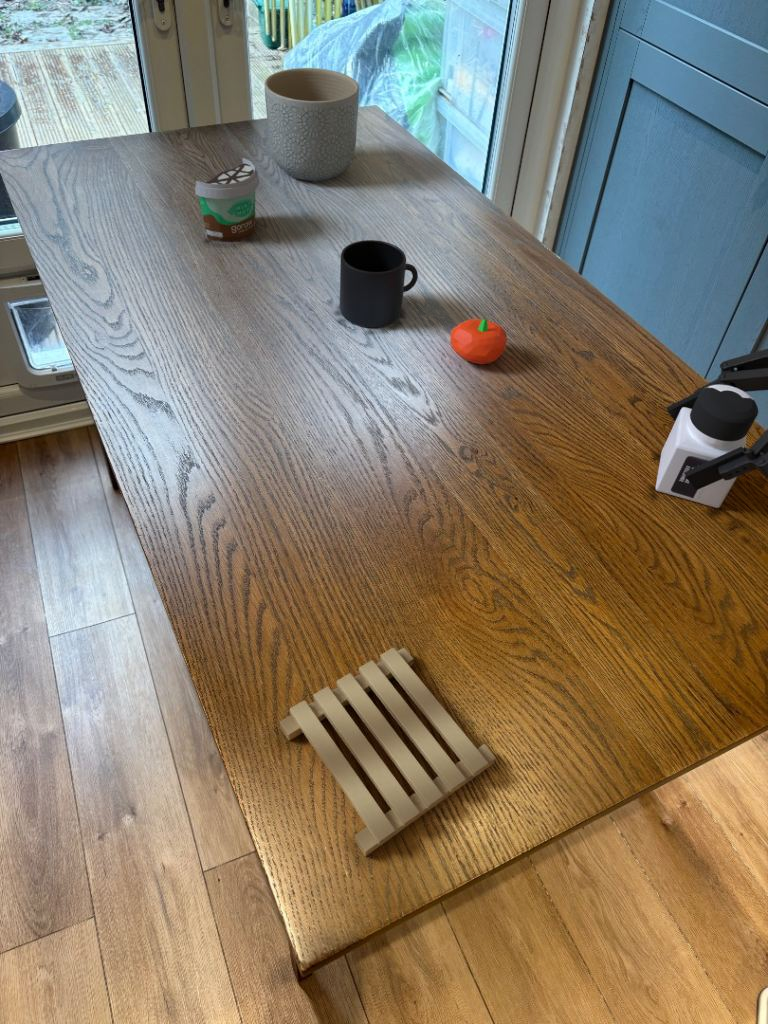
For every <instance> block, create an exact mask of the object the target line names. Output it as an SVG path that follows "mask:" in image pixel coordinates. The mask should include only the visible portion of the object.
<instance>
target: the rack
mask: <svg viewBox="0 0 768 1024" xmlns="http://www.w3.org/2000/svg"><path fill="white" fill-rule="evenodd" d="M379 660H380V661H379V662H377V663H376V662H375V661H374V660H373V659H372V660H370V661H368V662H366V663H365V664H363V665H361V666H359V668H358V673H359V674H357V675H355V676H354V675H353V674H352V673H351V672H349V673H348V674H346V675H344V676H343V677H341V678H339V679H337V680H336V687H335V688H334V689H331V688H330V686H326V687H324V688H322V689H320V690H319V691H317V692H315V693H313V701H312V702H310V703H308V702H307V701H306V700H305V699H304V700H302V701H300V702H298V703H297V704H295V705H294V706H291V707H290V708H289V713H290V714H289V715H288V716H287V717H285V718H283V719H282V720H280V721H279V727H280V730H281V731H282V733H283V734H284V736H285V737H286V739H287V741H291V740H293V739H294V738H297V737H298V736H299V735H301V734H304V736H305V737H306V739H307V740H308V742H309V743H310V745H311V746H312V748H313V750H314V751H315V752H316V754H317V755H318V757H319V758H320V760H321V761H322V762H323V764H324V765H325V767H326V768H327V770H328V772H329V773H330V774H331V775H332V778H333V779H334V780H335V782H336V783H337V785H338V786H339V788H340V789H341V790H342V792H343V794H344V795H345V796H346V798H347V799H348V802H350V804H351V805H352V807H353V808H354V810H355V812H356V813H357V814H358V815H359V817H360V819H361V820H362V822H363V823H364V825H365V826H366V827H364V828H363V829H362V830H360V831H359V832H357V833H356V834H354V842H355V844H356V845H357V847H358V848H359V850H360V852H361V853H362V854H363V856H364V857H367V856H369V855H370V854H371V853H373V852H374V851H375V850H376V849H378V848H379V847H381V846H382V845H384V844H385V843H387V842H388V841H390V839H392V838H394V836H396V835H397V834H399V833H400V832H401V831H403V830H404V829H406V828H407V827H409V826H410V825H411V824H413V823H414V822H415V821H416V820H418V819H420V818H421V817H423V816H424V815H425V814H426V813H428V812H429V811H430V810H432V809H433V808H435V807H436V806H437V805H439V804H441V802H443V801H444V800H446V799H447V798H449V796H452V795H453V794H454V793H456V792H457V791H458V790H460V789H461V788H462V787H463V786H465V785H466V784H468V783H469V782H470V781H471V780H473V779H475V778H476V777H477V776H479V775H480V774H482V773H484V771H485V770H487V769H488V768H490V767H491V766H492V765H494V764H495V761H496V759H497V758H496V756H495V755H494V753H493V752H492V751H491V750H490V748H489V747H488V746H487V745H486V743H484V744H482V745H480V746H479V747H478V748H477V747H476V746H475V744H474V743H473V742H472V741H471V740H470V738H469V737H468V736H467V735H466V733H465V732H464V731H463V730H462V729H461V728H460V726H459V725H458V723H457V722H456V721H455V720H454V719H453V717H452V716H451V715H450V714H449V713H448V711H446V709H445V708H444V707H443V705H442V704H441V703H440V702H439V700H438V699H437V698H436V697H435V695H434V694H433V693H432V692H431V691H430V689H428V687H427V686H426V685H425V684H424V681H422V680H421V679H420V678H419V676H418V675H417V673H415V671H414V670H413V668H411V667H412V666H413V665H414V657H413V656H412V655H411V653H410V652H409V651H408V650H407V648H406V647H402V648H401V649H399V650H397V649H396V648H395V647H392V648H390V649H388V650H386V651H384V652H382V653H381V654H380V655H379ZM392 678H394V679H395V680H396V681H397V683H398V684H399V685H400V686H401V687H402V689H403V690H404V691H405V693H406V694H407V695H408V696H409V697H410V699H411V700H412V701H413V702H414V705H416V706H417V708H418V709H419V710H420V711H421V713H422V714H423V715H424V717H425V718H426V719H427V720H428V721H429V723H430V724H431V725H432V727H433V728H434V729H435V730H436V732H437V733H438V734H439V735H440V736H441V738H442V739H443V740H444V741H445V743H446V744H447V745H448V746H449V748H450V749H451V751H452V752H453V753H454V754H455V755H456V757H457V758H458V759H459V761H457V762H456V763H454V761H453V760H452V758H450V756H449V755H448V754H447V752H446V751H445V750H444V748H443V747H442V746H441V744H440V743H439V742H438V741H437V739H435V737H434V736H433V735H432V733H431V731H429V729H428V728H427V727H426V726H425V725H424V723H423V722H422V720H421V719H420V718H419V717H418V716H417V714H416V713H415V712H414V711H413V709H412V708H411V706H410V705H409V704H408V703H407V702H406V700H405V699H404V698H403V697H402V695H401V694H400V693H399V691H398V690H397V689H396V688H395V687H394V685H393V684H392V682H391V681H390V680H391V679H392ZM371 691H372V692H373V693H374V694H375V696H376V697H377V698H378V699H379V700H380V702H381V703H382V704H383V706H384V707H385V709H386V710H387V711H388V713H389V714H390V715H391V716H392V717H393V719H394V720H395V722H396V723H397V724H398V726H399V727H400V728H401V730H403V732H404V733H405V735H406V736H407V737H408V739H409V740H410V741H411V742H412V744H413V745H414V746H415V748H416V749H417V750H418V752H419V753H420V754H421V755H422V757H423V758H424V759H425V761H426V762H427V763H428V764H429V766H430V767H431V769H432V770H433V771H434V772H435V774H436V775H437V776H436V777H435V778H434V779H432V778H431V776H430V775H429V774H428V773H427V771H426V770H425V769H424V767H423V766H422V765H421V764H420V763H419V761H418V760H417V758H416V757H415V756H414V754H413V753H412V751H411V750H410V749H409V747H407V745H406V744H405V742H403V740H402V738H401V737H400V736H399V735H398V734H397V732H396V731H395V729H394V728H393V727H392V726H391V724H390V723H389V721H388V720H387V719H386V718H385V716H384V715H383V713H381V711H380V709H378V707H377V706H376V704H375V703H374V702H373V700H372V699H371V698H370V696H369V695H368V693H369V692H371ZM348 705H350V706H351V707H352V708H353V710H354V711H355V713H356V714H357V715H358V717H359V718H360V719H361V721H362V722H363V724H364V725H365V726H366V728H368V730H369V731H370V733H371V734H372V736H373V738H374V739H376V741H377V742H378V744H379V746H381V748H382V749H383V750H384V752H385V753H386V755H387V756H388V758H389V759H390V760H391V761H392V763H393V764H394V765H395V767H396V768H397V769H398V771H399V772H400V774H401V775H402V776H403V778H404V779H405V780H406V782H407V783H408V784H409V786H410V787H411V789H412V790H413V791H414V793H412V794H411V795H410V796H409V795H408V794H407V792H406V791H405V789H404V788H403V786H401V784H400V782H399V781H398V780H397V779H396V777H395V776H394V774H393V773H392V771H391V770H390V769H389V768H388V766H387V765H386V763H385V762H384V761H383V759H382V758H381V756H379V754H378V753H377V751H376V750H375V749H374V747H373V745H372V744H371V743H370V742H369V740H368V738H367V737H366V736H365V734H364V733H363V732H362V731H361V729H360V728H359V726H358V725H357V723H356V722H355V721H354V719H353V718H352V717H351V716H350V714H349V712H347V710H346V708H345V707H347V706H348ZM325 719H327V720H328V722H329V723H330V724H331V726H332V727H333V729H334V730H335V732H336V733H337V734H338V736H339V737H340V739H341V740H342V741H343V743H344V744H345V746H346V747H347V748H348V750H349V752H350V754H352V755H353V757H354V758H355V760H356V761H357V762H358V764H359V765H360V767H361V768H362V770H363V771H364V773H365V774H366V775H367V777H368V778H369V780H370V781H371V782H372V784H373V785H374V787H375V789H377V791H378V792H379V794H380V796H381V797H382V798H383V800H384V801H385V802H386V804H387V806H388V807H389V808H390V809H389V811H387V812H384V811H383V810H382V809H381V807H380V806H379V804H378V803H377V801H376V800H375V798H374V797H373V795H372V794H371V793H370V791H369V790H368V788H367V787H366V785H365V784H364V782H363V781H362V780H361V778H360V777H359V775H358V774H357V772H356V771H355V770H354V768H353V767H352V766H351V764H350V763H349V761H348V760H347V759H346V757H345V755H344V754H343V752H342V751H341V750H340V748H339V747H338V745H337V744H336V742H335V741H334V739H333V738H332V737H331V735H330V734H329V732H328V731H327V729H326V728H325V727H324V725H323V724H322V723H321V722H323V721H324V720H325Z"/></svg>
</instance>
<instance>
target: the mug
mask: <svg viewBox="0 0 768 1024" xmlns="http://www.w3.org/2000/svg"><path fill="white" fill-rule="evenodd" d="M339 266H340V271H339V273H340V274H339V311H340V313H341V315H342V316H343V318H344V319H345V320H346V321H348V322H349V323H351V324H353V325H357V326H359V327H364V328H381V327H386V326H389V325H391V324H394V323H395V322H397V320H399V318H400V317H401V315H402V312H403V300H404V294H405V293H406V292H408V291H411V289H413V288H414V286H415V285H416V284H417V282H418V278H419V274H418V270H417V268H416V267H415V265H413V264H411V263H407V256H406V254H405V252H404V251H403V250H402V249H401V248H400V247H399V246H397V245H395V244H393V243H390V242H387V241H382V240H374V239H365V240H357V241H355V242H352V243H349V244H348V245H346V246H345V247H344V248H343V249H342V250H341V253H340V265H339ZM406 271H409V272H411V275H412V277H411V280H410V281H409V282H408V283H407V284H406V285H405V277H406Z"/></svg>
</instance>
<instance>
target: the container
mask: <svg viewBox="0 0 768 1024" xmlns="http://www.w3.org/2000/svg"><path fill="white" fill-rule="evenodd" d="M758 415H759V407H758V405H757V403H756V401H755V399H754V398H753V397H752V396H751V395H750V394H748V393H747V392H744V391H742V390H740V389H738V388H735V387H732V386H728V385H712V386H709V387H706V388H704V389H703V390H702V391H701V392H700V393H699V395H698V398H697V400H696V402H695V404H694V406H693V408H692V409H690V408H686V407H683V408H682V409H681V410H680V413H679V415H678V417H677V419H676V421H674V424H673V426H672V428H671V431H670V432H669V434H668V436H667V439H666V441H665V443H664V445H663V447H662V450H661V453H660V460H659V465H658V470H657V476H656V483H655V491H656V492H659V493H662V494H666V495H670V496H672V497H676V498H680V499H683V500H687V501H691V502H694V503H698V504H701V505H705V506H708V507H711V508H715V509H719V508H721V506H722V504H723V502H724V501H725V499H726V497H727V495H728V494H729V492H730V490H731V489H732V487H733V485H734V484H735V482H736V480H737V479H738V477H735V478H733V479H731V480H724V479H721V480H719V481H717V482H714V483H712V484H710V485H707V486H705V487H703V488H701V489H698V490H696V489H695V488H694V487H693V486H692V484H691V483H690V482H689V481H688V479H687V478H686V477H685V473H684V472H686V471H688V470H691V469H693V468H695V467H697V466H699V465H702V464H704V463H706V462H708V461H710V460H713V459H715V458H717V457H719V456H721V455H724V454H726V453H728V452H730V451H732V450H735V449H737V448H739V447H741V446H742V448H744V447H745V448H747V435H748V433H749V432H750V430H751V428H752V426H753V424H754V422H755V420H756V419H757V417H758Z"/></svg>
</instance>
